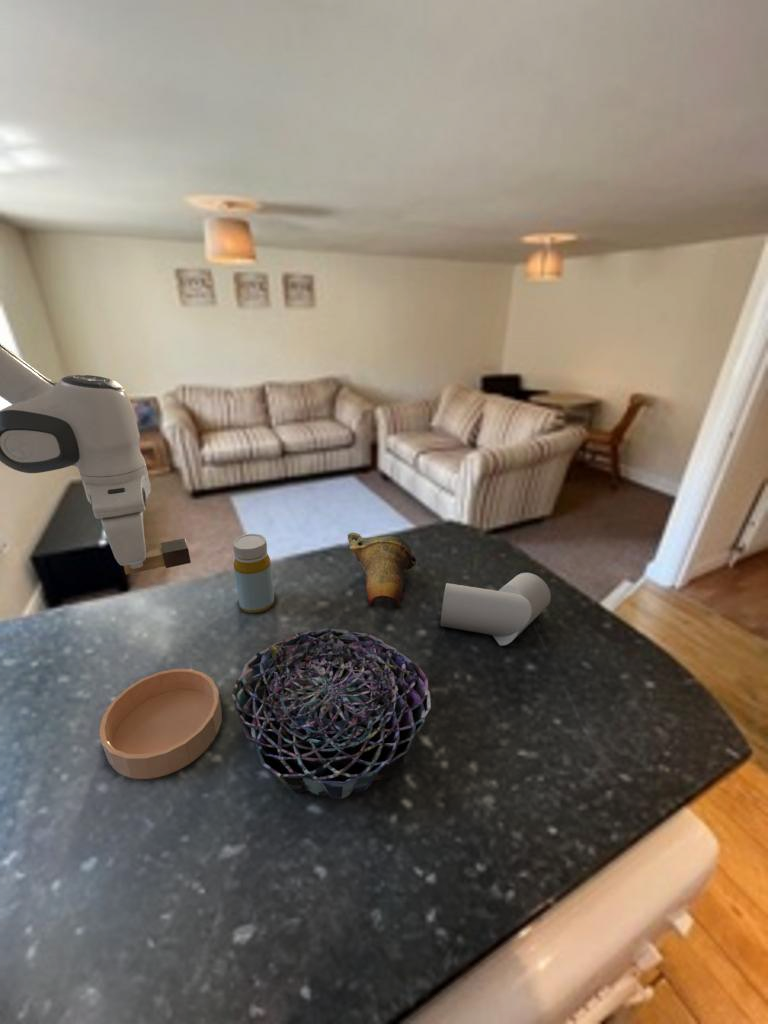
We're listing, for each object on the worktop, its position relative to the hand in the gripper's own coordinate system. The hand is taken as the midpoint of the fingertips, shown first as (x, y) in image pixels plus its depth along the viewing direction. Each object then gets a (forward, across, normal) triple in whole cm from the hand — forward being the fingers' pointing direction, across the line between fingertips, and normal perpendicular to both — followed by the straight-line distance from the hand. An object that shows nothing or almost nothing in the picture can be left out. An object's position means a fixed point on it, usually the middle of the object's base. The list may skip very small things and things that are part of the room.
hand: (136, 560), depth 75 cm
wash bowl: (+17, +22, 0) cm, 28 cm away
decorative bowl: (+17, +33, +21) cm, 43 cm away
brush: (+2, 0, +2) cm, 3 cm away
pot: (+17, +2, +46) cm, 49 cm away
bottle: (+17, -2, +19) cm, 26 cm away
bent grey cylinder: (+17, +24, +58) cm, 66 cm away
